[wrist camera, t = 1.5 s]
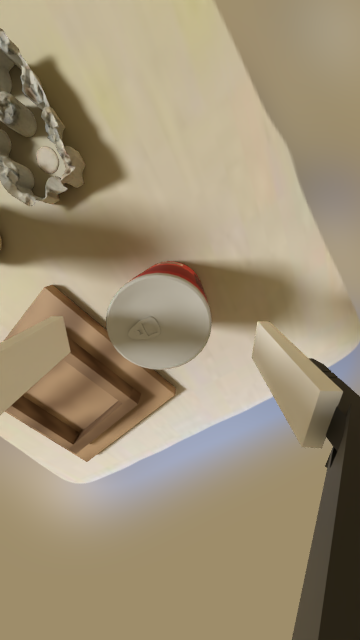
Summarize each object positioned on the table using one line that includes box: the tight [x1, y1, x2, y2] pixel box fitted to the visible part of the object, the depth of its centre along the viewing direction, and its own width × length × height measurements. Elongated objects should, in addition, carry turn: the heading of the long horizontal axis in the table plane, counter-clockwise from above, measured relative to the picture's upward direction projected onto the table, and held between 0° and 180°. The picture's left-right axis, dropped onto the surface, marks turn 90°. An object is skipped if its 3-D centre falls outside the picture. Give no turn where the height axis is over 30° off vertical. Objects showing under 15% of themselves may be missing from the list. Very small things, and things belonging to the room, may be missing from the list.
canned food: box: [106, 261, 212, 370], centre depth 20 cm, size 8×8×11 cm
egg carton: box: [0, 29, 85, 206], centre depth 18 cm, size 11×8×4 cm
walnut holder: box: [4, 285, 175, 462], centre depth 29 cm, size 22×22×4 cm
